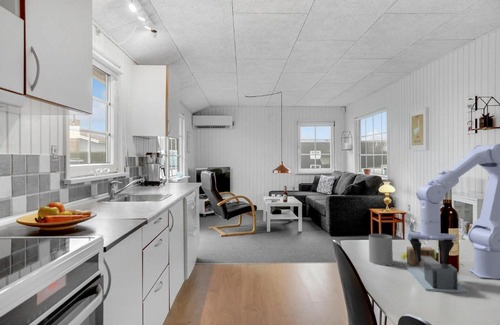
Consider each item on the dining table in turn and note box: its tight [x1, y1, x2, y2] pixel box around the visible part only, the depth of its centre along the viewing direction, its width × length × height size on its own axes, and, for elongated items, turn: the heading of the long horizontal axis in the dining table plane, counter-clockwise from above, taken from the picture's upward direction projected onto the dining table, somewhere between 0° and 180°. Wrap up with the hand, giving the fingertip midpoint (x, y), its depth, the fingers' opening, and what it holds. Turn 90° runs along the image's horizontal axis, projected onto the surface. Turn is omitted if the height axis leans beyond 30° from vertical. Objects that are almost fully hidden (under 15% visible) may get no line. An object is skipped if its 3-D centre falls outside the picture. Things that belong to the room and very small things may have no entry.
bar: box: [419, 255, 441, 272], centre depth 104 cm, size 4×17×5 cm, turn 168°
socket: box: [406, 246, 436, 266], centre depth 116 cm, size 8×4×6 cm, turn 78°
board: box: [402, 262, 468, 294], centre depth 106 cm, size 11×25×1 cm, turn 168°
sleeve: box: [424, 262, 459, 290], centre depth 98 cm, size 6×8×6 cm
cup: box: [368, 233, 394, 266], centre depth 123 cm, size 8×8×10 cm
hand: (431, 261), depth 105 cm, fingers open, 7 cm apart
